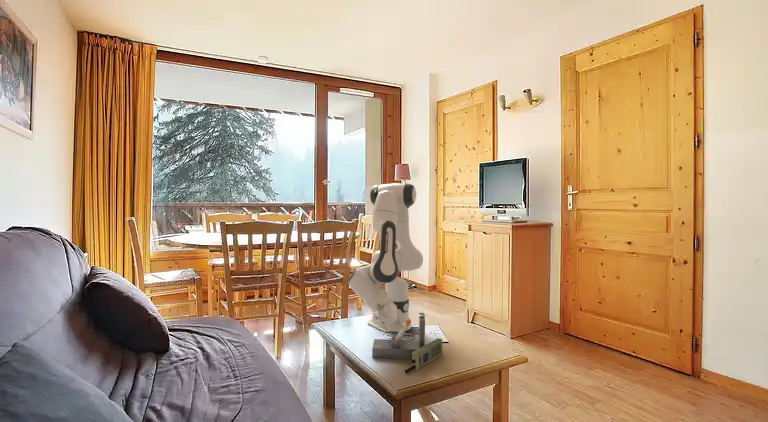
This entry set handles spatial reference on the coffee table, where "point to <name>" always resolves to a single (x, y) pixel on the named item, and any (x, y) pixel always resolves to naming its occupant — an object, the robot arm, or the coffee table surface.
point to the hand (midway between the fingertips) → (401, 325)
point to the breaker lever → (403, 329)
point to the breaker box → (399, 345)
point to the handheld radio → (426, 354)
